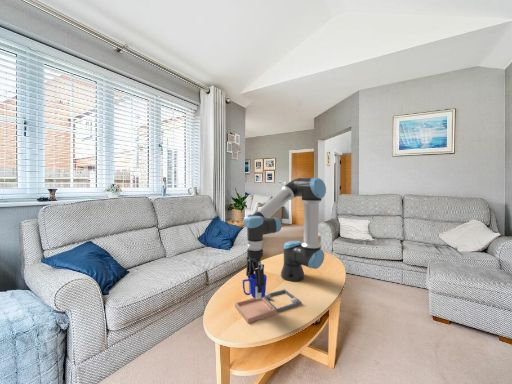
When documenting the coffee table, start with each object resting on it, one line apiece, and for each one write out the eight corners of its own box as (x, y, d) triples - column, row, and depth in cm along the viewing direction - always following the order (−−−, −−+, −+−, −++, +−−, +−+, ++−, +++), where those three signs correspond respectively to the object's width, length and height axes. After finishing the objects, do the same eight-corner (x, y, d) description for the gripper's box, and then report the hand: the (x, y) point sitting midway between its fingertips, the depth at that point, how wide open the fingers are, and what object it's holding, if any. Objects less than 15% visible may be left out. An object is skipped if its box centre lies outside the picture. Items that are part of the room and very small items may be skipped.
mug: (240, 295, 114) (240, 275, 113) (262, 290, 118) (262, 271, 118) (245, 303, 106) (245, 282, 106) (269, 298, 111) (269, 278, 110)
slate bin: (284, 291, 131) (284, 289, 131) (301, 304, 118) (301, 301, 118) (261, 298, 124) (261, 295, 124) (276, 312, 111) (276, 309, 111)
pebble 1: (268, 296, 125) (268, 291, 125) (271, 299, 123) (271, 293, 123) (264, 298, 124) (264, 292, 124) (267, 300, 121) (267, 295, 121)
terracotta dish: (260, 299, 123) (260, 295, 123) (276, 313, 109) (276, 309, 109) (234, 306, 116) (234, 302, 116) (247, 323, 102) (247, 318, 102)
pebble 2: (295, 301, 120) (295, 295, 120) (298, 304, 118) (298, 298, 118) (290, 302, 119) (290, 297, 119) (294, 305, 116) (294, 300, 116)
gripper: (239, 244, 118) (239, 288, 119) (258, 255, 100) (257, 306, 101) (252, 242, 121) (252, 285, 122) (272, 253, 104) (272, 302, 105)
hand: (254, 294), depth 112 cm, fingers closed on mug, 7 cm apart
